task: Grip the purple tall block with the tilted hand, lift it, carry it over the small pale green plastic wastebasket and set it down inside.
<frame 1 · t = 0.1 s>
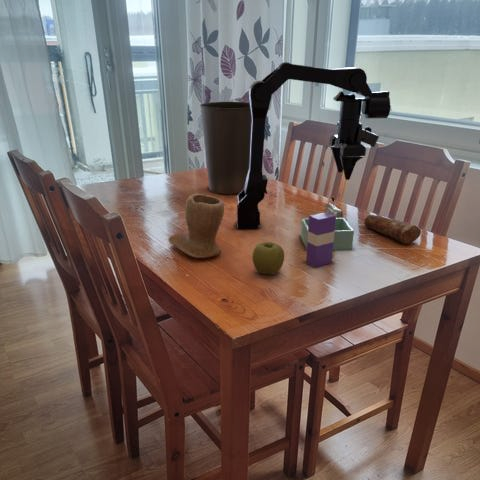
hand: (343, 175, 139), 15 cm above the table, tool pointing down, fingers open, 9 cm apart
cuneiform tablet: (334, 224, 146), on the table
bin: (325, 242, 132), on the table
stone cup: (199, 251, 127), on the table
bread: (386, 236, 137), on the table
purple tall block: (318, 262, 120), on the table
apple: (267, 273, 115), on the table
waste basket: (230, 189, 183), on the table
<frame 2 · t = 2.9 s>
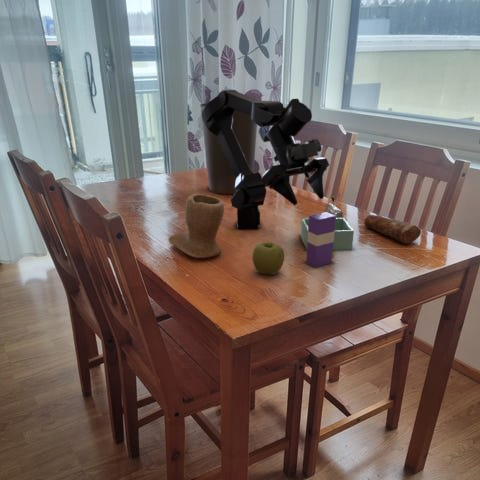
hand: (309, 201, 120), 14 cm above the table, tool tilted 40°, fingers open, 9 cm apart
nothing on the table moved.
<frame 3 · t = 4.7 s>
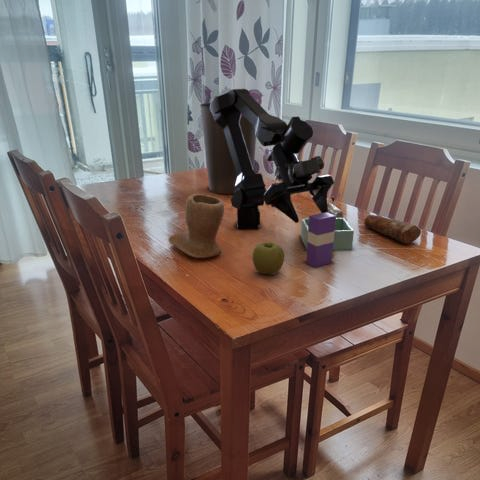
hand: (312, 218, 117), 10 cm above the table, tool tilted 45°, fingers open, 9 cm apart
nothing on the table moved.
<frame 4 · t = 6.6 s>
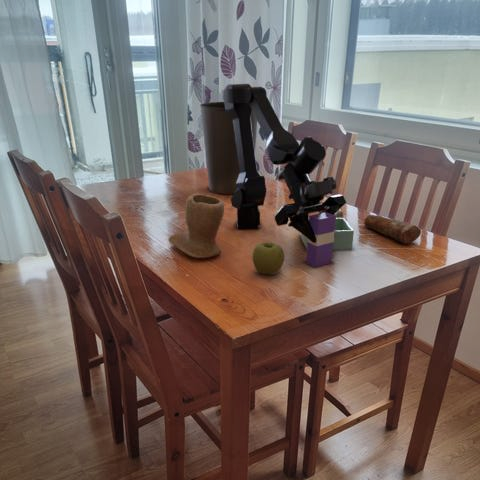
hand: (324, 239, 115), 7 cm above the table, tool tilted 45°, fingers closed on purple tall block, 5 cm apart
purple tall block: (318, 262, 120), on the table, touching gripper
everything else where it was.
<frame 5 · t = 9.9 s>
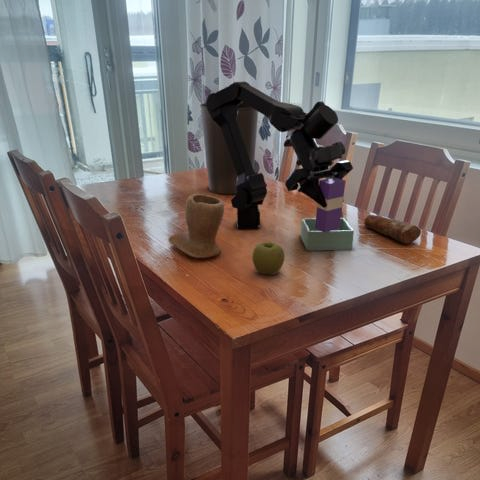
hand: (333, 204, 117), 13 cm above the table, tool tilted 45°, fingers closed on purple tall block, 5 cm apart
purple tall block: (327, 228, 122), point 7 cm above the table, touching gripper
everything else where it was.
when the fingers open (7 cm above the table, at t = 13.5 s): purple tall block stays where it is, resting on bin.
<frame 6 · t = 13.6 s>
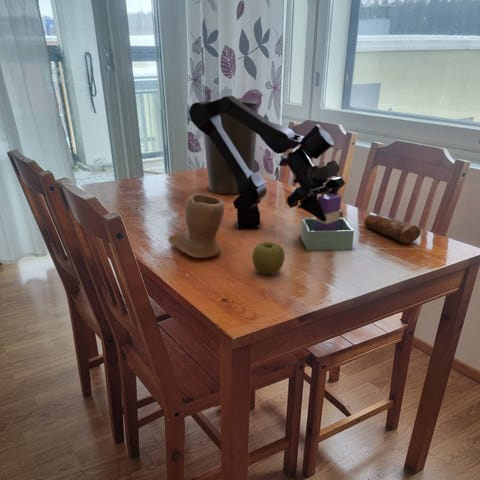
hand: (331, 218, 127), 7 cm above the table, tool tilted 45°, fingers open, 5 cm apart
purple tall block: (325, 239, 132), point 1 cm above the table, touching bin
everything else where it was.
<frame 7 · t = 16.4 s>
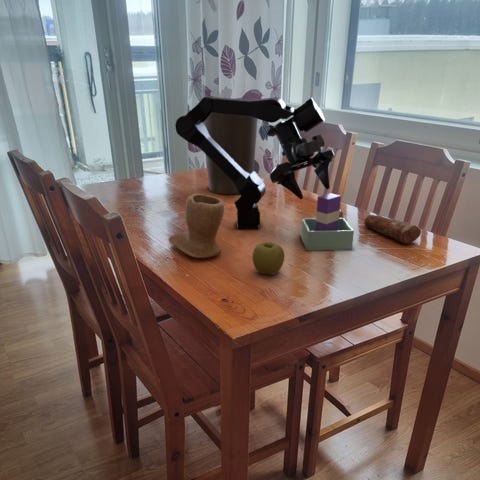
hand: (315, 193, 129), 13 cm above the table, tool tilted 40°, fingers open, 9 cm apart
nothing on the table moved.
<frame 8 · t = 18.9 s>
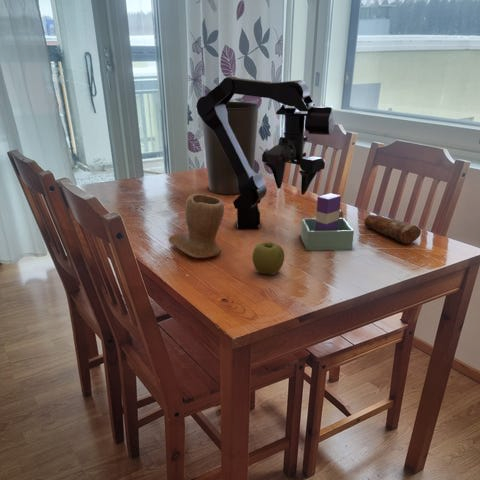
hand: (290, 191, 134), 12 cm above the table, tool pointing down, fingers open, 9 cm apart
nothing on the table moved.
at the end: purple tall block inside the target area in the bin (0.0 cm from its centre), point 0.8 cm above the bin's base; the gripper is holding nothing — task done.
